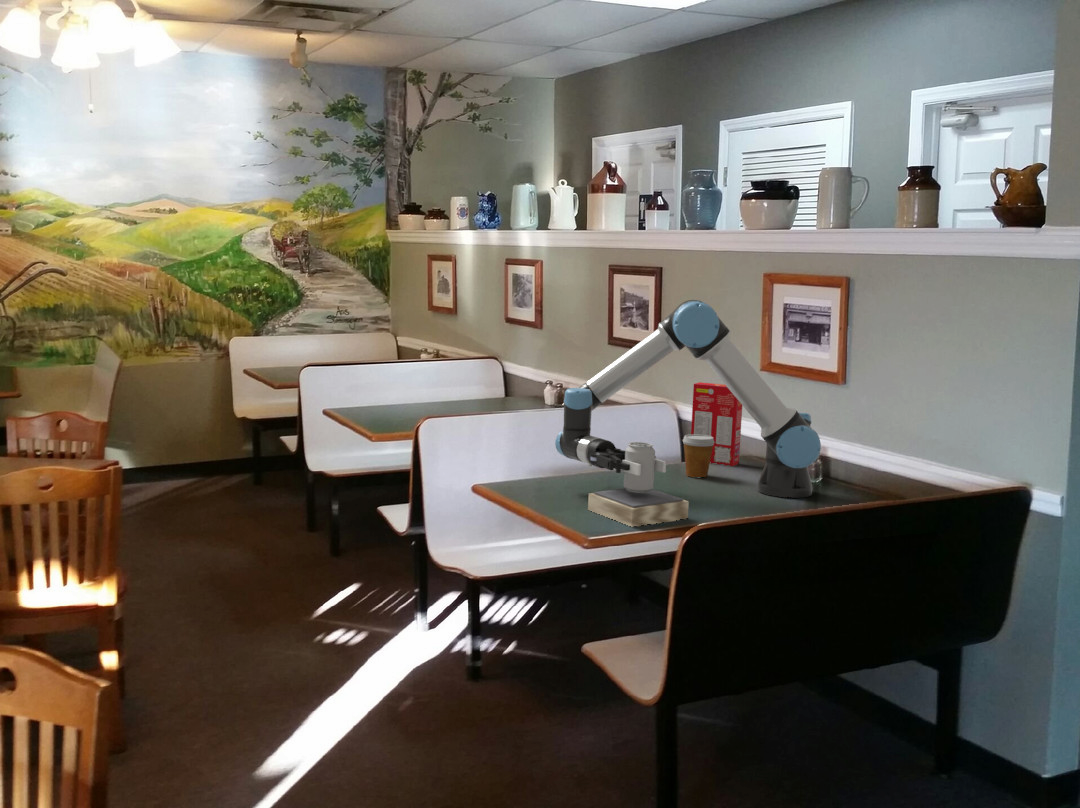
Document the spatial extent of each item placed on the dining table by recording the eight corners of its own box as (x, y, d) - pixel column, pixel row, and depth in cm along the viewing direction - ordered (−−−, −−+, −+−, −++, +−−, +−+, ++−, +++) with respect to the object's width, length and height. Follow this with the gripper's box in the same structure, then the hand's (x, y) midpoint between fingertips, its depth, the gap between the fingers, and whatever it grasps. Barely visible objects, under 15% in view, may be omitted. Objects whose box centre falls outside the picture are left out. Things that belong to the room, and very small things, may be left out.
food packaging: (738, 463, 336) (743, 386, 333) (733, 466, 332) (738, 388, 328) (695, 457, 343) (699, 382, 339) (689, 460, 339) (693, 383, 335)
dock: (642, 503, 279) (643, 484, 278) (687, 518, 264) (688, 499, 263) (587, 510, 269) (588, 491, 268) (631, 527, 254) (632, 507, 253)
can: (652, 494, 261) (654, 447, 260) (622, 492, 263) (624, 445, 261) (654, 487, 269) (656, 441, 267) (624, 485, 270) (627, 440, 268)
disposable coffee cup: (713, 474, 319) (715, 435, 317) (711, 480, 310) (713, 440, 308) (682, 471, 321) (684, 433, 319) (679, 478, 312) (681, 438, 310)
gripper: (626, 462, 285) (682, 479, 267) (565, 469, 274) (619, 487, 255) (627, 435, 284) (683, 450, 266) (566, 441, 273) (620, 457, 254)
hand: (652, 468), depth 261 cm, fingers closed on can, 7 cm apart
